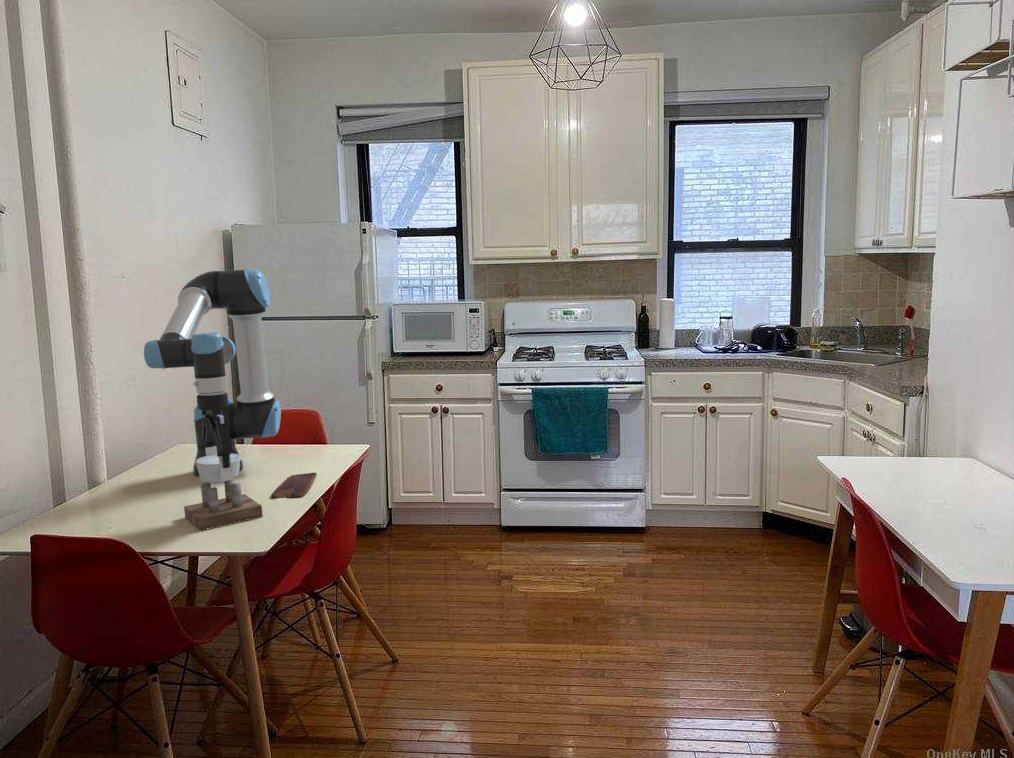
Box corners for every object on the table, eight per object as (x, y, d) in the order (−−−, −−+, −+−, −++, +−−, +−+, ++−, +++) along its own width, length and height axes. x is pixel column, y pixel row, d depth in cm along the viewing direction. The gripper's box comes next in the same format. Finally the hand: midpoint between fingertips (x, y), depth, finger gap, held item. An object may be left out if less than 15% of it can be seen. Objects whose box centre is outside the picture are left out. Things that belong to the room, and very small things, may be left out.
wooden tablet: (289, 471, 244) (320, 466, 244) (290, 478, 244) (321, 473, 245) (268, 496, 218) (303, 490, 218) (269, 504, 218) (304, 498, 218)
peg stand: (185, 517, 204) (181, 484, 203) (245, 504, 214) (242, 473, 212) (199, 530, 193) (196, 496, 192) (262, 516, 203) (259, 483, 201)
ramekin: (228, 484, 196) (226, 464, 195) (188, 483, 198) (186, 463, 197) (250, 472, 206) (248, 453, 206) (212, 472, 208) (210, 453, 208)
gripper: (184, 389, 206) (192, 469, 209) (209, 400, 187) (218, 487, 190) (213, 386, 210) (221, 464, 214) (241, 396, 191) (248, 481, 195)
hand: (219, 475), depth 202 cm, fingers closed on ramekin, 11 cm apart
